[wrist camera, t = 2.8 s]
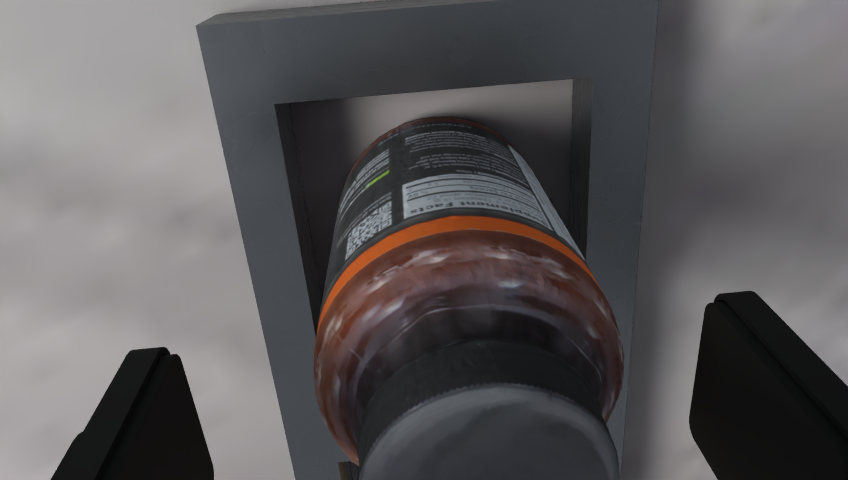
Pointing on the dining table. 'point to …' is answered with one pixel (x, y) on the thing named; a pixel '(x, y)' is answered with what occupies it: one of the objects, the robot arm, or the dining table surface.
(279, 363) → the grey rectangular frame
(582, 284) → the supplement bottle
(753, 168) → the dining table surface
